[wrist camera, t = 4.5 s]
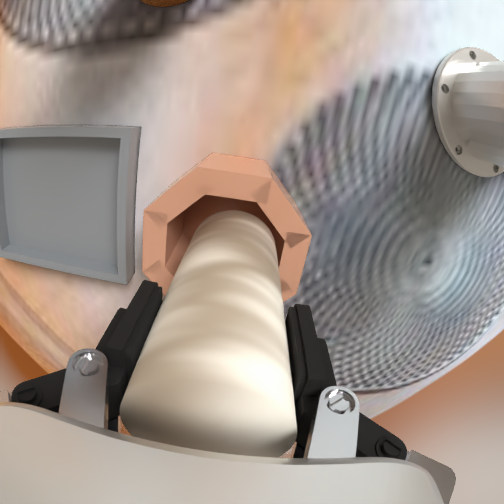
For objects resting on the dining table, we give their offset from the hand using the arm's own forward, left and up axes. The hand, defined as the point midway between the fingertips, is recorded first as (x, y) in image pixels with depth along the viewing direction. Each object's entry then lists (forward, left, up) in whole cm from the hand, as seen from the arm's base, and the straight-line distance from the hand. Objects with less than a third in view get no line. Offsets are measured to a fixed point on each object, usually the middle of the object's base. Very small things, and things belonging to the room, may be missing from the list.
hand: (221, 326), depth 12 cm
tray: (+16, 0, -14) cm, 22 cm away
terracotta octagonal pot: (0, 0, -14) cm, 14 cm away
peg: (0, 0, -7) cm, 7 cm away
